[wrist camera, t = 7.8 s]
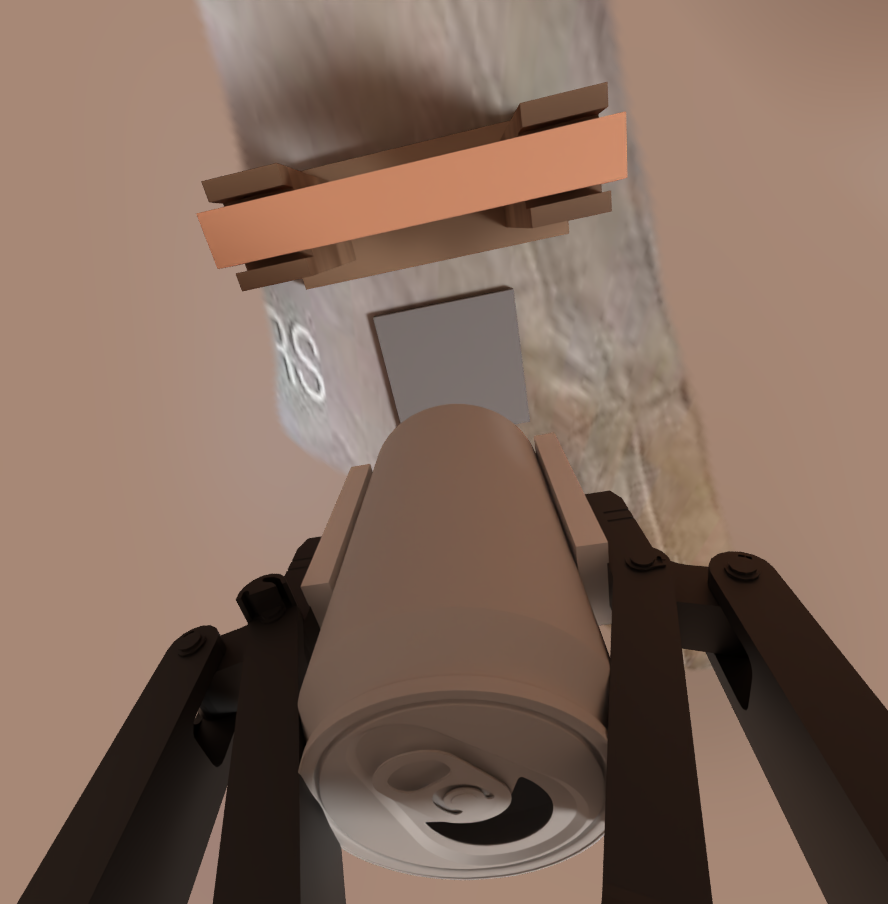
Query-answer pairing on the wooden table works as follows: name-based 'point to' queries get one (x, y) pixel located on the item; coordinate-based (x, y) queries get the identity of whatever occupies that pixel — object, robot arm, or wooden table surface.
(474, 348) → the rubber mat
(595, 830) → the beverage can
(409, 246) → the walnut stand
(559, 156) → the crossbar
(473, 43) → the wooden table surface
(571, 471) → the robot arm
